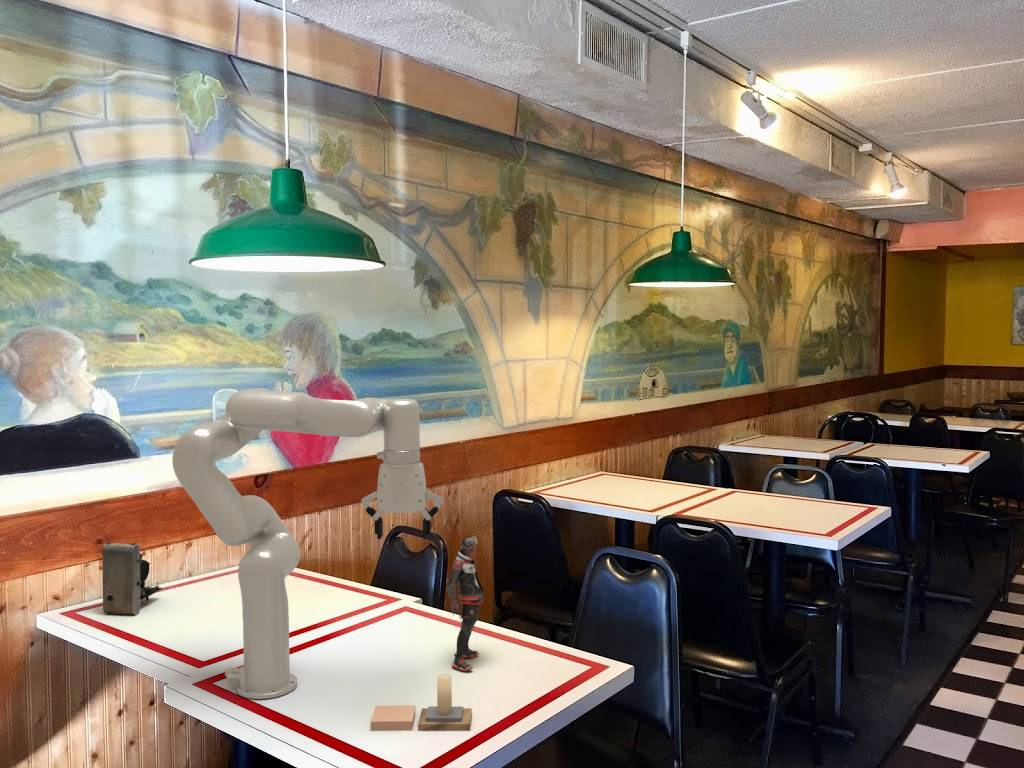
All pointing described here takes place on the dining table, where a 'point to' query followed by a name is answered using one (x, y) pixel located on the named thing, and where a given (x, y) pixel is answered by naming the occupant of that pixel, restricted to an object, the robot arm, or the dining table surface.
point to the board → (446, 725)
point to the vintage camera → (124, 579)
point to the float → (444, 703)
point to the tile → (393, 717)
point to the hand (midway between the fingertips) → (402, 537)
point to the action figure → (465, 600)
